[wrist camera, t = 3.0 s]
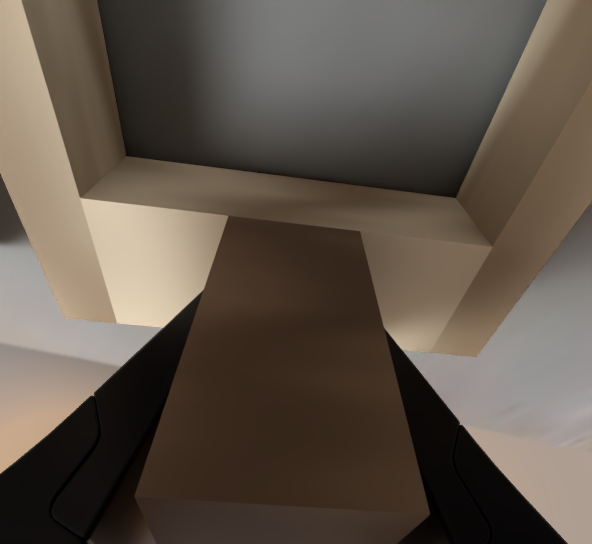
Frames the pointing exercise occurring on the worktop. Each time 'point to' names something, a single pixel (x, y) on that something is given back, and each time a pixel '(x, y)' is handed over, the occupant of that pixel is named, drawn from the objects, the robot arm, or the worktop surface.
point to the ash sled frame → (285, 279)
